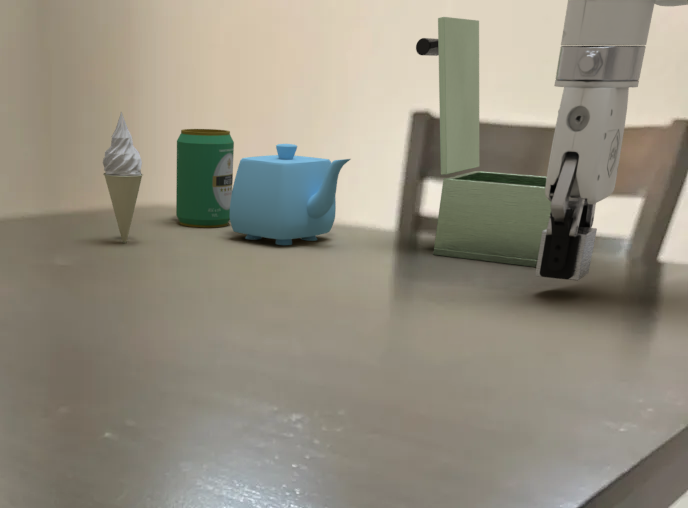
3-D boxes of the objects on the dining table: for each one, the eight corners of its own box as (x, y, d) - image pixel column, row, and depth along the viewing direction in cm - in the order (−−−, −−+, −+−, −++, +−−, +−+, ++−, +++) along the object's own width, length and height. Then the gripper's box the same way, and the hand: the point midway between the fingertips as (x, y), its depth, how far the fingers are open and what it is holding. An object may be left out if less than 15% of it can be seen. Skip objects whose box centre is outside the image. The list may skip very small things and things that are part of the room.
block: (588, 273, 102) (597, 228, 99) (578, 280, 98) (586, 234, 96) (546, 269, 104) (553, 224, 101) (534, 276, 100) (542, 230, 98)
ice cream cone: (128, 238, 129) (126, 110, 121) (151, 243, 126) (150, 112, 118) (97, 241, 126) (93, 110, 119) (119, 247, 123) (116, 112, 115)
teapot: (313, 255, 122) (320, 153, 116) (209, 236, 132) (211, 141, 126) (370, 244, 129) (380, 148, 123) (268, 227, 140) (272, 137, 134)
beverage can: (212, 229, 137) (215, 134, 130) (165, 224, 140) (165, 130, 134) (241, 223, 142) (244, 131, 136) (195, 217, 146) (196, 127, 140)
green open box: (581, 254, 126) (596, 180, 122) (556, 269, 117) (571, 189, 113) (465, 241, 133) (476, 170, 129) (432, 254, 124) (443, 178, 119)
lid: (479, 20, 121) (440, 28, 124) (444, 16, 112) (403, 25, 114) (479, 166, 128) (442, 170, 131) (446, 174, 119) (408, 178, 121)
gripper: (620, 71, 84) (579, 292, 93) (657, 68, 96) (617, 263, 105) (533, 70, 87) (501, 283, 96) (579, 67, 99) (547, 256, 109)
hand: (562, 271), depth 101 cm, fingers closed on block, 4 cm apart
